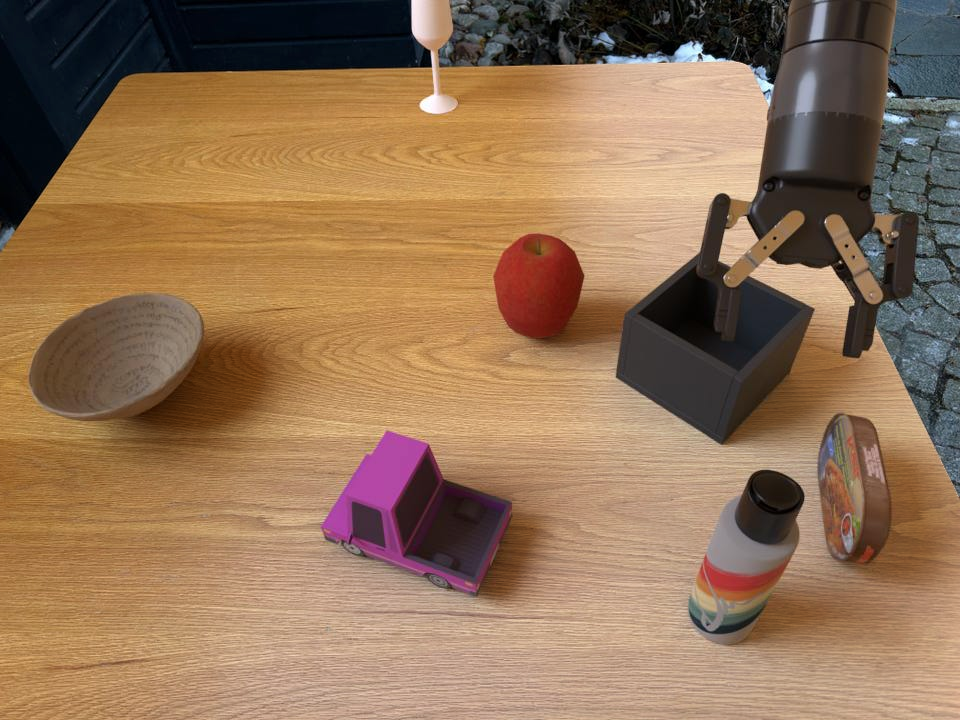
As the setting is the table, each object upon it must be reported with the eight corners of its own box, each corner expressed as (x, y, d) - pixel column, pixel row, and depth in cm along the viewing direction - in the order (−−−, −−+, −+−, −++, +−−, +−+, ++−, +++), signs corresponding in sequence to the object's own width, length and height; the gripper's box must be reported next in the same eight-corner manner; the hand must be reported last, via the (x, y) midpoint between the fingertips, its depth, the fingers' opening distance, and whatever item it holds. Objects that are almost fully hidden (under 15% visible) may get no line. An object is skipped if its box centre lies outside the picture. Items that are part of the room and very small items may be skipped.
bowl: (58, 363, 90) (26, 315, 84) (212, 320, 94) (192, 272, 88) (59, 482, 78) (22, 435, 72) (235, 426, 82) (214, 378, 77)
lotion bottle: (676, 622, 65) (721, 497, 51) (702, 573, 68) (752, 441, 54) (738, 659, 63) (804, 538, 48) (762, 605, 66) (832, 477, 52)
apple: (502, 362, 87) (500, 271, 77) (488, 305, 94) (485, 215, 84) (588, 350, 88) (598, 258, 78) (568, 295, 95) (574, 204, 85)
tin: (813, 446, 78) (839, 393, 72) (845, 450, 77) (874, 397, 71) (829, 578, 68) (860, 529, 62) (866, 584, 67) (901, 536, 61)
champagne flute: (465, 102, 130) (457, -46, 113) (438, 117, 127) (425, -33, 110) (439, 91, 134) (427, -55, 116) (411, 105, 130) (395, -43, 113)
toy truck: (376, 468, 78) (361, 407, 71) (515, 515, 73) (515, 455, 66) (323, 555, 71) (301, 497, 64) (473, 612, 67) (467, 557, 59)
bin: (789, 373, 85) (815, 308, 77) (721, 445, 78) (742, 382, 71) (685, 315, 92) (700, 251, 85) (615, 377, 85) (624, 313, 78)
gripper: (727, 99, 51) (692, 335, 51) (955, 116, 48) (915, 364, 49) (714, 130, 58) (683, 336, 59) (911, 146, 56) (876, 362, 56)
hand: (788, 349), depth 54 cm, fingers open, 8 cm apart
